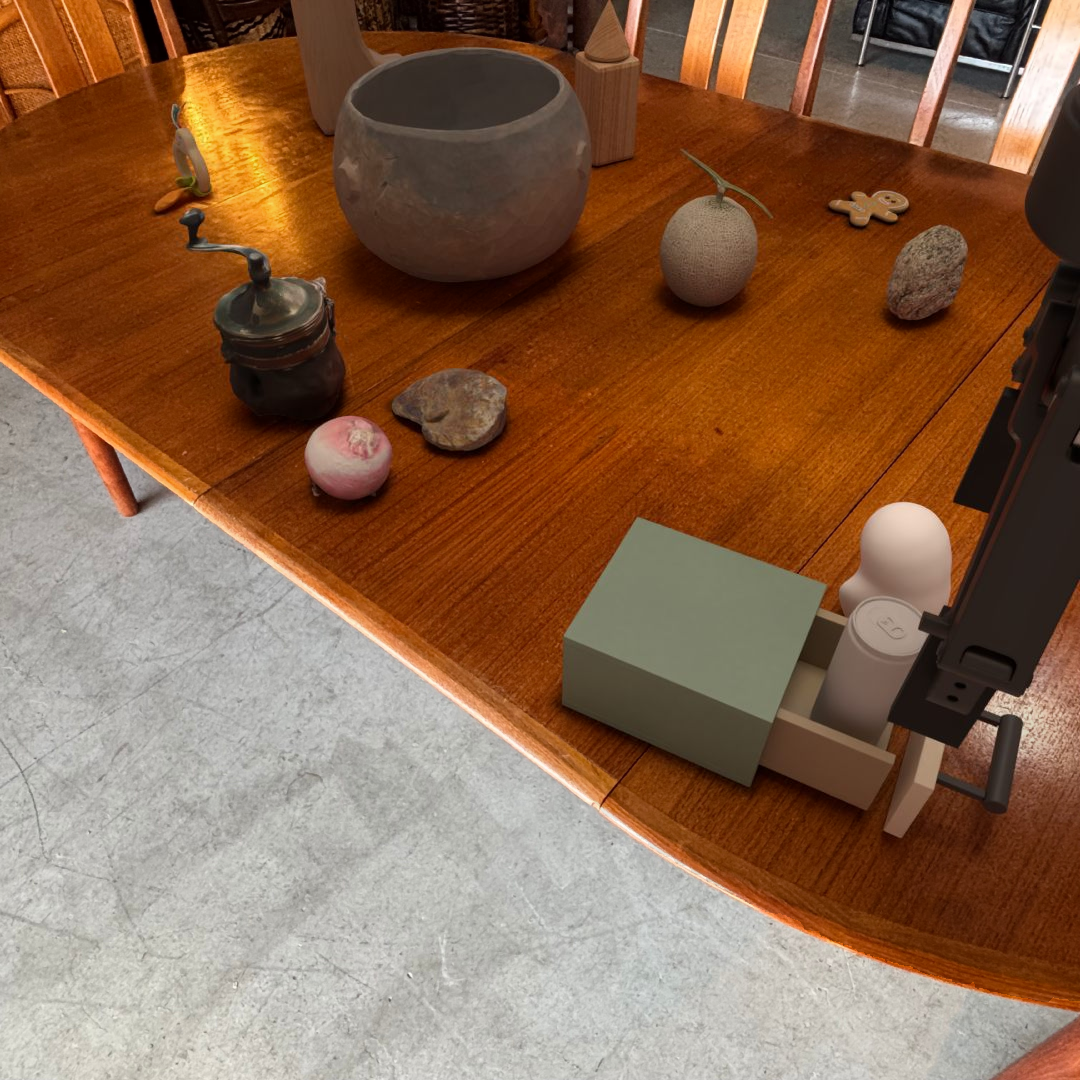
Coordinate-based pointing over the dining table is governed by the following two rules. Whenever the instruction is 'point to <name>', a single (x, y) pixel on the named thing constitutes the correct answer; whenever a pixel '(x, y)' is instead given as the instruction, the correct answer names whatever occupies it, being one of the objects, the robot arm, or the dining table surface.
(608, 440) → the dining table surface
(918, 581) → the figurine
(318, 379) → the coffee grinder
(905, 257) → the stone
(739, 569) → the cabinet
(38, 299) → the dining table surface
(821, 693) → the beverage can
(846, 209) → the cookie
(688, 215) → the fruit
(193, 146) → the rattle
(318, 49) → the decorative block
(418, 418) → the brown rock
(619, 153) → the decorative item
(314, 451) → the onion
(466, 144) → the clay pot
